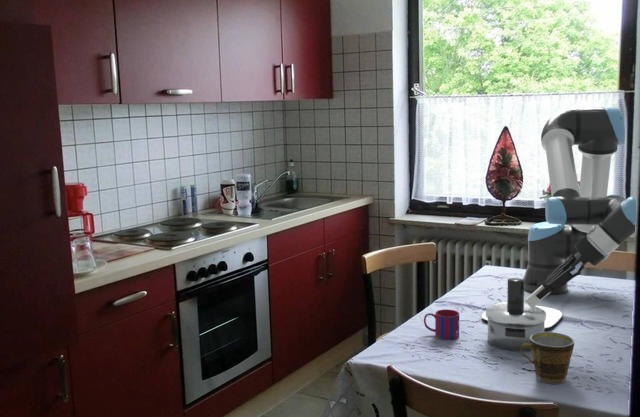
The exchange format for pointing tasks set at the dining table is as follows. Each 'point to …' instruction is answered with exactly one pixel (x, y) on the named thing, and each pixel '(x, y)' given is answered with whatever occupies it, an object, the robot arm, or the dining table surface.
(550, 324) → the plate
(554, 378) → the ceramic cup
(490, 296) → the dining table surface
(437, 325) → the cup
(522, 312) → the lid
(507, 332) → the pot
